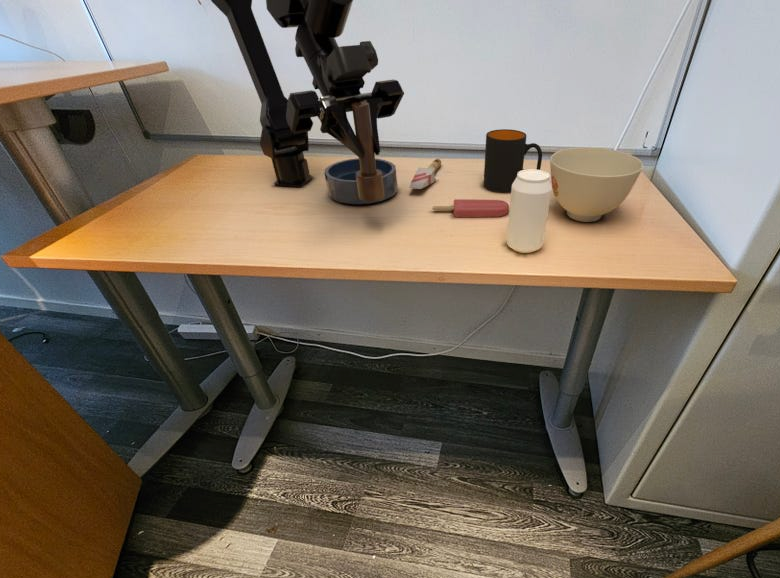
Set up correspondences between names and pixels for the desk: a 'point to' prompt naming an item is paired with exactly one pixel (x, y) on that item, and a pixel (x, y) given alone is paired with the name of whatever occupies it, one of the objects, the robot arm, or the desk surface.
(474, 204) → the popsicle
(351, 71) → the robot arm
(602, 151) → the bowl
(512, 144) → the mug
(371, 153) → the pestle
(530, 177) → the beverage can
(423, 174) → the paintbrush
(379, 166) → the blue grey round dish
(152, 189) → the desk surface
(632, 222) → the desk surface
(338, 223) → the desk surface
